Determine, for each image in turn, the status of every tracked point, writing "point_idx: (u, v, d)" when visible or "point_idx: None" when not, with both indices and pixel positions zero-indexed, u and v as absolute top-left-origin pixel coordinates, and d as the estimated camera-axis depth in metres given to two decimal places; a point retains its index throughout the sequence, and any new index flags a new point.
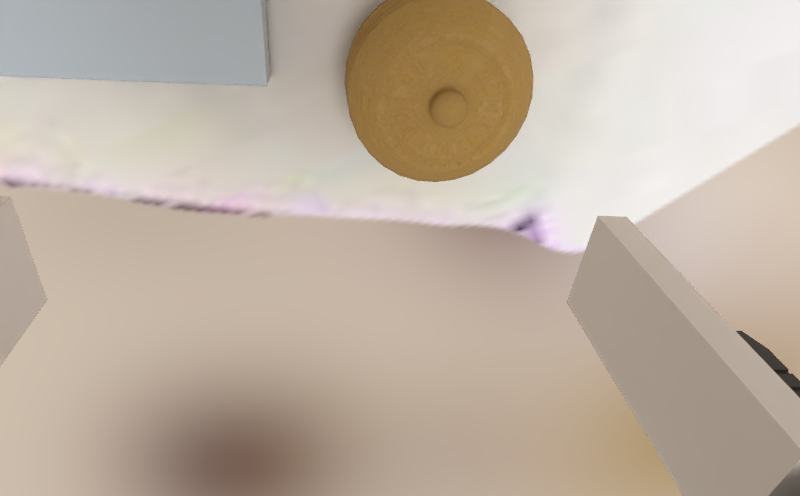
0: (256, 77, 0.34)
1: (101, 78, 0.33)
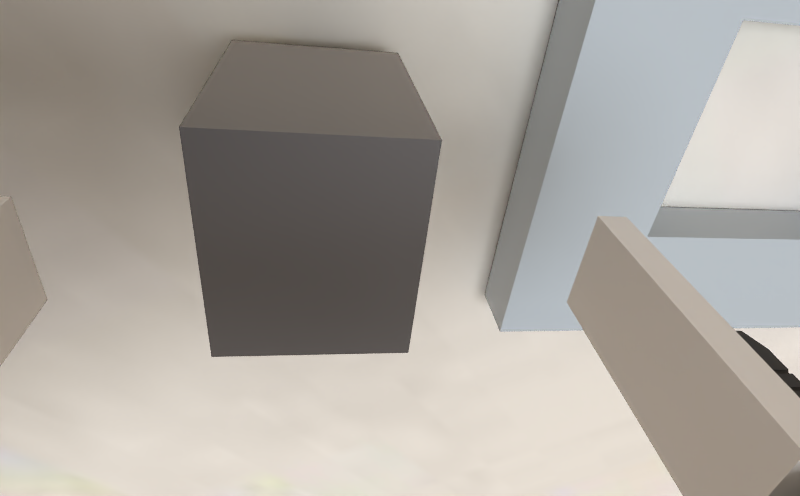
0: None
1: None
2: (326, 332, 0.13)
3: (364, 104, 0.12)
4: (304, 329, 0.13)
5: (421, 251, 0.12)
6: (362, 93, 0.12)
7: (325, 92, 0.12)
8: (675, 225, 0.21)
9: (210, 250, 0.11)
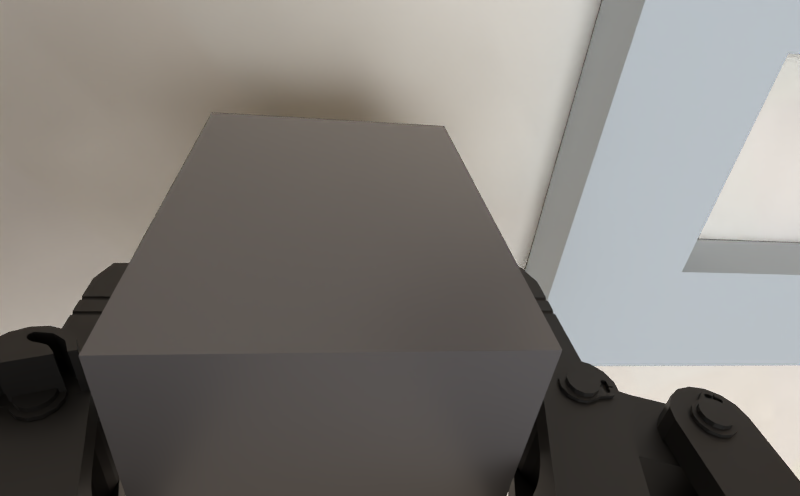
0: None
1: None
2: None
3: (414, 250, 0.07)
4: None
5: (504, 489, 0.07)
6: (406, 223, 0.08)
7: (349, 222, 0.08)
8: (710, 259, 0.21)
9: None
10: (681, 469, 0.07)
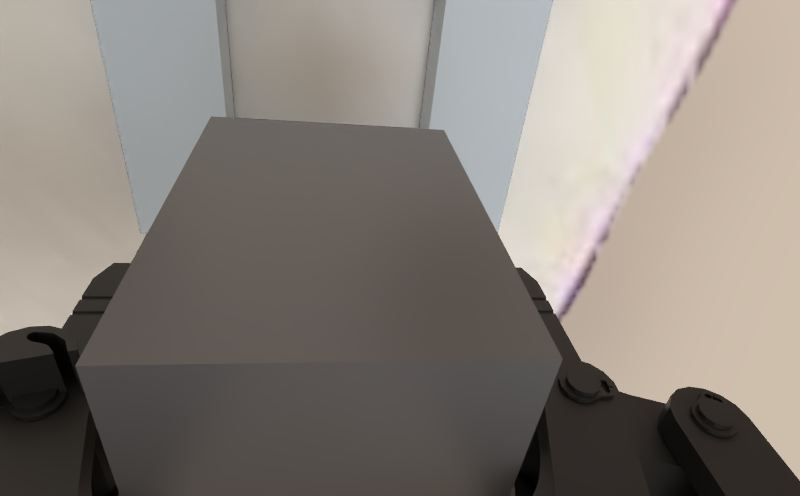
0: None
1: (524, 112, 0.26)
2: None
3: (414, 257, 0.07)
4: None
5: None
6: (406, 229, 0.08)
7: (349, 229, 0.08)
8: None
9: None
10: (681, 468, 0.07)
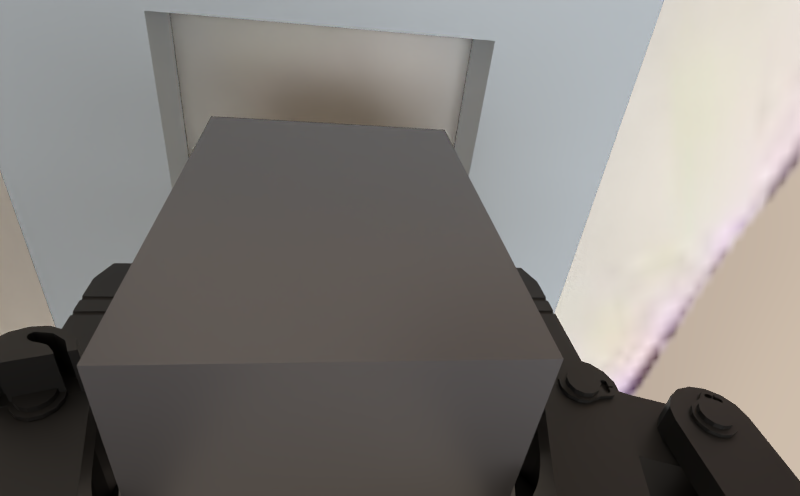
0: None
1: (591, 200, 0.19)
2: None
3: (415, 257, 0.07)
4: None
5: None
6: (407, 229, 0.08)
7: (349, 229, 0.08)
8: None
9: None
10: (681, 469, 0.07)
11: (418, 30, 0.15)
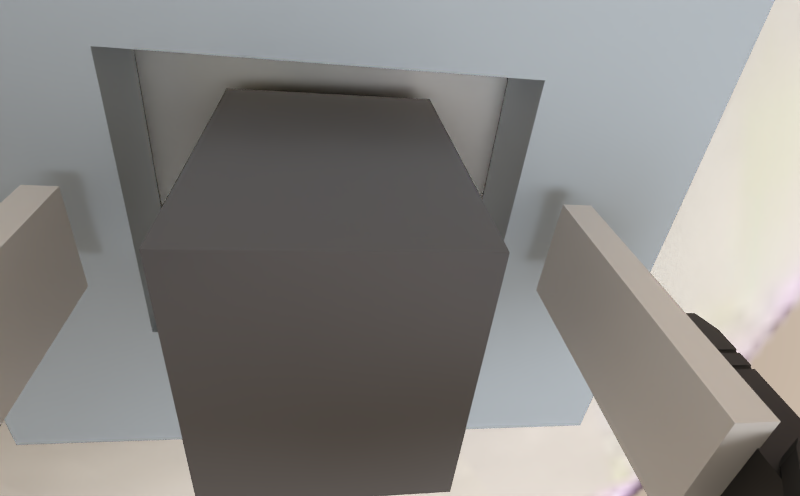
0: None
1: (650, 265, 0.16)
2: (346, 475, 0.10)
3: (397, 188, 0.09)
4: (318, 473, 0.10)
5: (473, 383, 0.09)
6: (392, 169, 0.09)
7: (344, 168, 0.09)
8: None
9: (190, 393, 0.08)
10: None
11: (448, 68, 0.12)
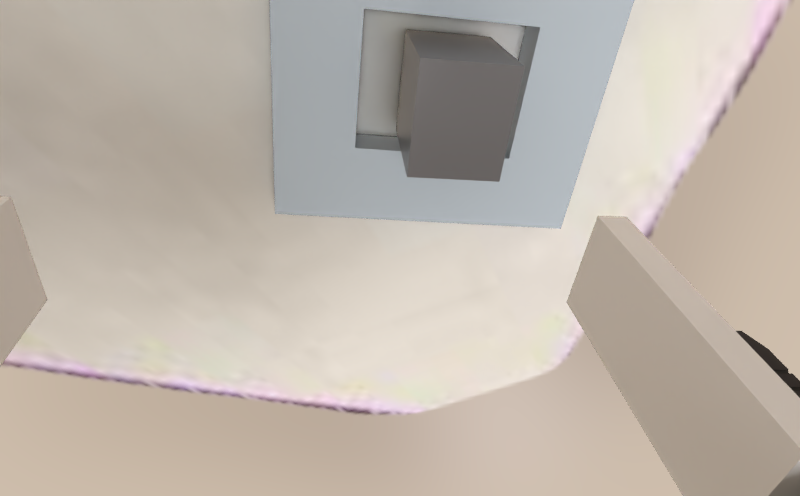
0: None
1: (592, 124, 0.32)
2: (462, 166, 0.27)
3: (486, 54, 0.26)
4: (452, 164, 0.27)
5: (511, 122, 0.26)
6: (483, 51, 0.26)
7: (466, 50, 0.26)
8: (383, 144, 0.33)
9: (419, 117, 0.25)
10: None
11: (500, 20, 0.29)
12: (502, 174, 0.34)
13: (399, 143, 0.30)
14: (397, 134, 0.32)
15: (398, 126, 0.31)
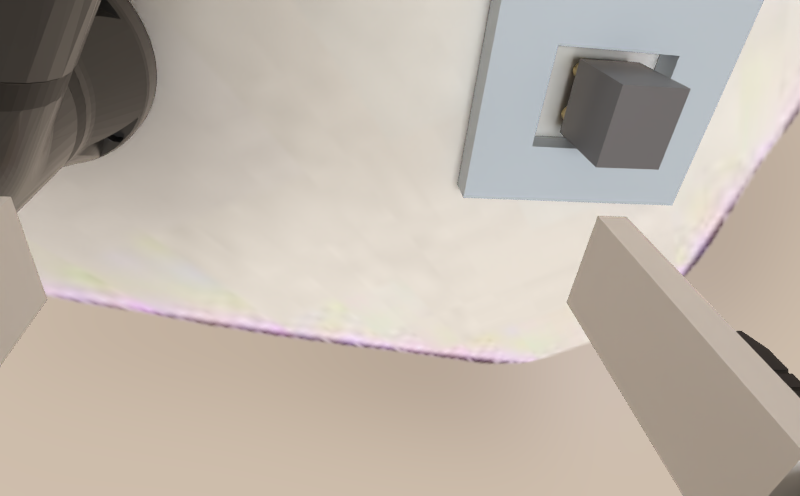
0: None
1: (706, 125, 0.43)
2: (635, 159, 0.37)
3: (656, 79, 0.36)
4: (628, 157, 0.37)
5: (674, 127, 0.36)
6: (651, 76, 0.37)
7: (640, 76, 0.37)
8: (549, 143, 0.43)
9: (613, 124, 0.36)
10: None
11: (651, 52, 0.39)
12: None
13: (571, 142, 0.41)
14: (564, 135, 0.42)
15: (566, 129, 0.42)
